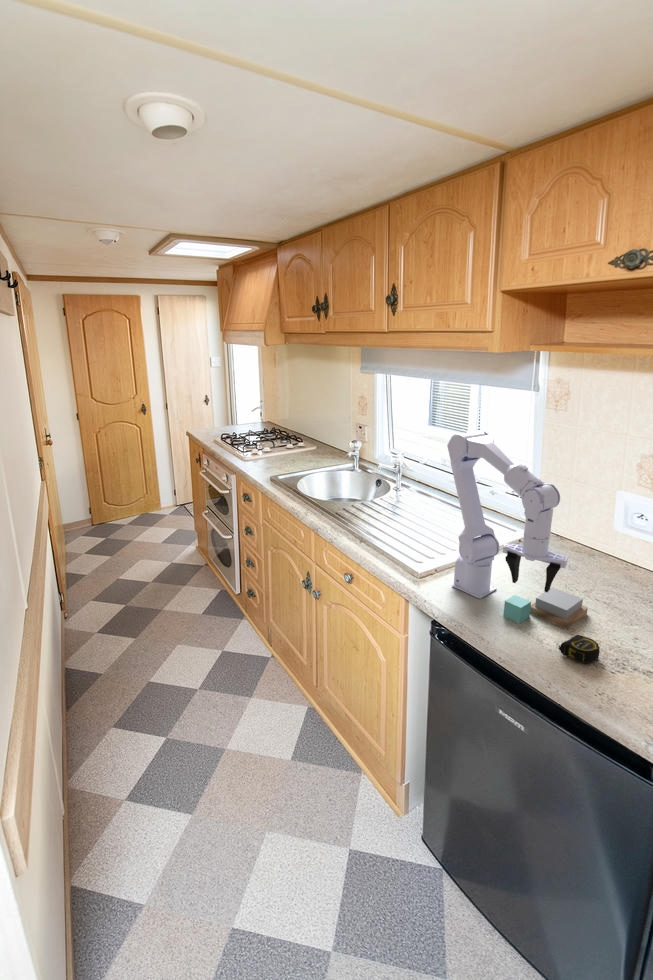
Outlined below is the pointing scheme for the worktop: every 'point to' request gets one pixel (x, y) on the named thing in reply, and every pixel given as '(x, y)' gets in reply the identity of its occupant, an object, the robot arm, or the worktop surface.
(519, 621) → the teal cube
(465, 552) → the robot arm
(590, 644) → the tape measure
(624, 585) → the worktop surface
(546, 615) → the tower base block
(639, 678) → the worktop surface
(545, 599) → the tower top block
